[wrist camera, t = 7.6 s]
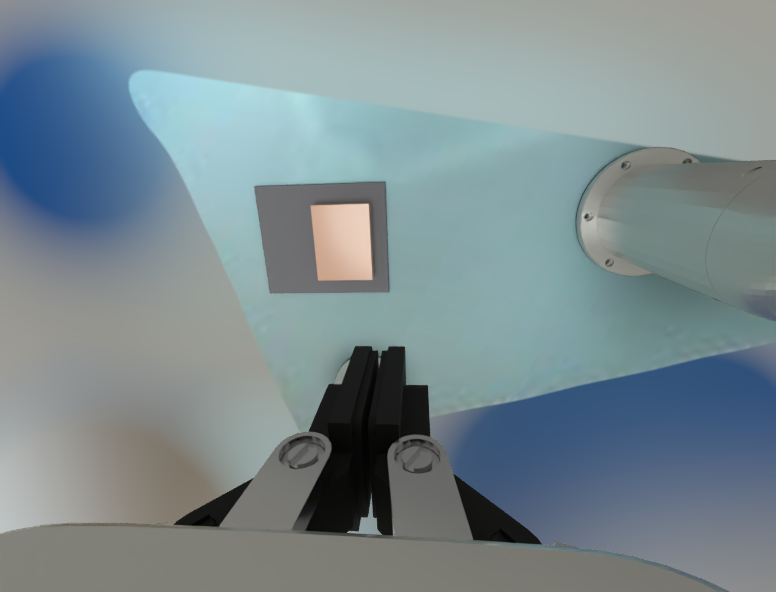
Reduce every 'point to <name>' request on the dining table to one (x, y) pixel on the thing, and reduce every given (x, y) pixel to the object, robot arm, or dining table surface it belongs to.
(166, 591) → the robot arm
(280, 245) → the mat
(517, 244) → the dining table surface
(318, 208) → the tile
